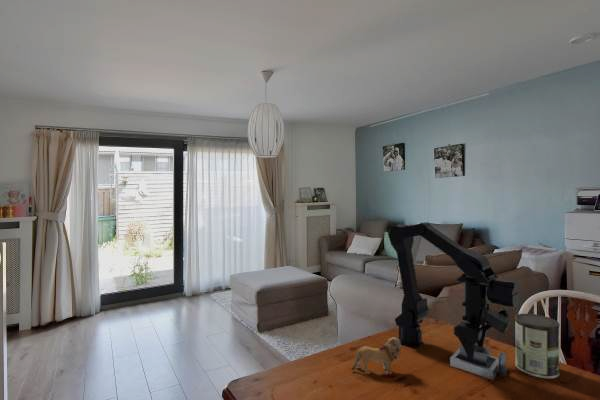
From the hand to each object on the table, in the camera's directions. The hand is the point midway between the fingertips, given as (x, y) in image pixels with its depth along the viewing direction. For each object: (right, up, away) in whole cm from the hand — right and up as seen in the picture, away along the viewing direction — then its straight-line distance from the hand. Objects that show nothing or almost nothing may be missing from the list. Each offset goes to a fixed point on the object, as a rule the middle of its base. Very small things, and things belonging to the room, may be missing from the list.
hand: (475, 352), depth 96 cm
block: (0, -4, 0) cm, 4 cm away
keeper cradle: (+1, -4, -1) cm, 4 cm away
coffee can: (+16, -4, -2) cm, 17 cm away
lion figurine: (-28, -5, -1) cm, 29 cm away
